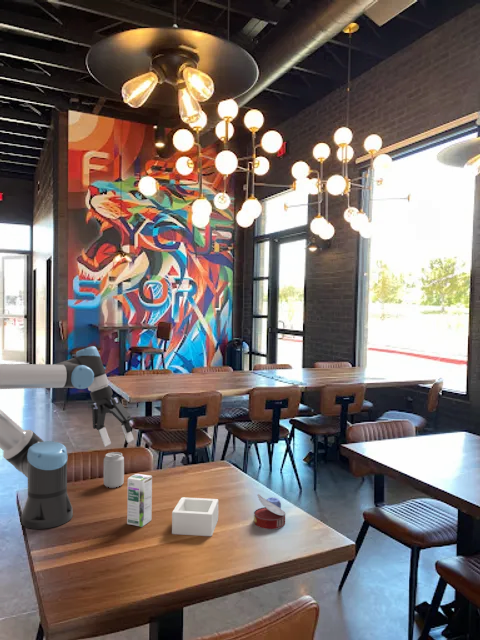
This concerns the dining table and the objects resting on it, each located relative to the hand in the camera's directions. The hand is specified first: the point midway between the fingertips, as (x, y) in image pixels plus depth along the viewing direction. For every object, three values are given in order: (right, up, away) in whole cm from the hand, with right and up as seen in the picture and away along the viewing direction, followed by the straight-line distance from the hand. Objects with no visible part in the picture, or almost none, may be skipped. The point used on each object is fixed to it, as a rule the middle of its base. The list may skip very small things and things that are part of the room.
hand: (119, 443), depth 179 cm
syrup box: (+13, -19, -24) cm, 33 cm away
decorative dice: (+55, -19, -15) cm, 60 cm away
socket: (+31, -19, -27) cm, 45 cm away
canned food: (+54, -19, -24) cm, 62 cm away
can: (-4, -18, +8) cm, 20 cm away
